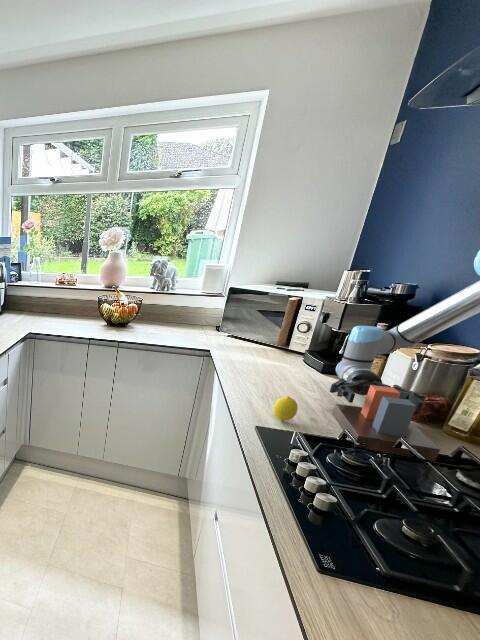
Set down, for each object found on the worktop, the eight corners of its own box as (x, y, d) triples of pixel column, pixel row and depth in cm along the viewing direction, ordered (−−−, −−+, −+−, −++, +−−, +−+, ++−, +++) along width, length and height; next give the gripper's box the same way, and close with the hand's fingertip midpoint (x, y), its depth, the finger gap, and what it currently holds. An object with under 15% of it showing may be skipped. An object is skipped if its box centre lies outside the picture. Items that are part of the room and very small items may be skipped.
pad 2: (392, 440, 107) (408, 399, 103) (399, 448, 103) (416, 406, 99) (367, 436, 110) (382, 396, 106) (373, 444, 106) (389, 402, 101)
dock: (397, 423, 117) (401, 412, 116) (434, 462, 97) (440, 449, 96) (331, 413, 124) (335, 403, 123) (354, 447, 104) (358, 435, 103)
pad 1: (379, 426, 115) (394, 387, 111) (385, 433, 111) (400, 393, 107) (357, 422, 118) (370, 384, 114) (361, 429, 114) (375, 390, 110)
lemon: (279, 416, 123) (285, 392, 120) (297, 423, 118) (305, 398, 115) (265, 418, 121) (272, 394, 119) (284, 426, 116) (291, 400, 114)
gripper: (412, 398, 122) (444, 424, 105) (309, 385, 134) (322, 406, 117) (421, 375, 120) (455, 398, 102) (315, 364, 132) (330, 382, 114)
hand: (384, 402), depth 110 cm, fingers open, 13 cm apart
